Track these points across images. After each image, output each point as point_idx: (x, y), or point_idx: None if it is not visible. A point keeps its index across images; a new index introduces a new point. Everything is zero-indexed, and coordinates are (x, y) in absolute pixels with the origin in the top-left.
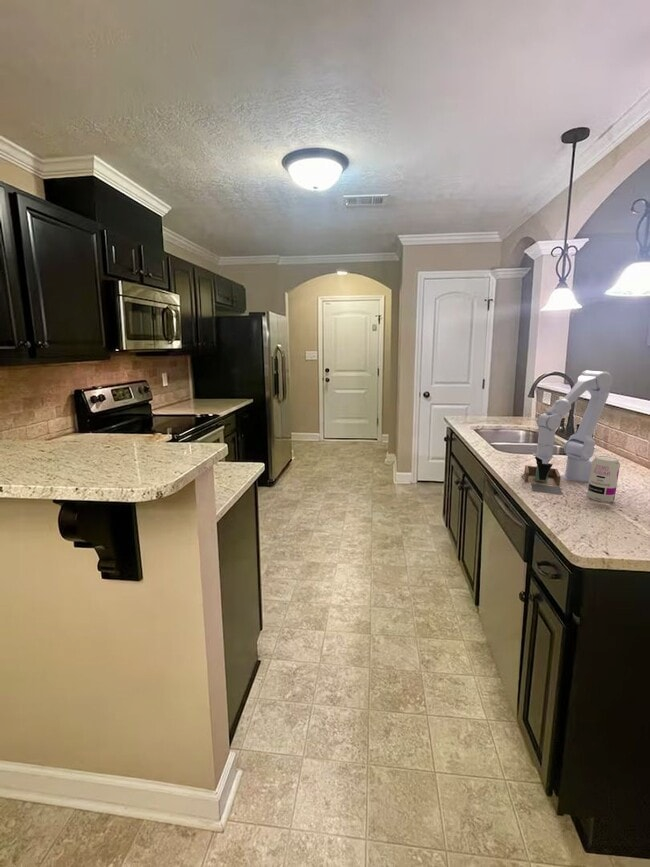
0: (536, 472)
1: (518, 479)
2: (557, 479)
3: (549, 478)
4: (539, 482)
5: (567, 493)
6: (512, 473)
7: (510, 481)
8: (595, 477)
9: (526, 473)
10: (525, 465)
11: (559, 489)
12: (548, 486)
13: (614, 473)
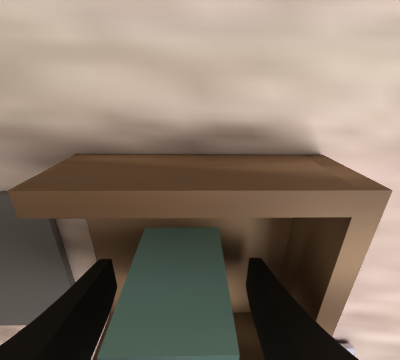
0: (180, 267)
1: (137, 101)
2: (95, 354)
3: (239, 294)
4: (109, 244)
5: (12, 336)
6: (333, 46)
7: (13, 16)
8: None
9: (15, 189)
10: (379, 193)
11: (30, 320)
12: (48, 282)
13: None
